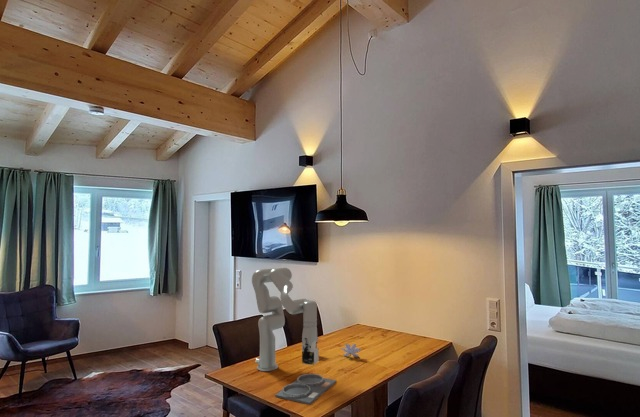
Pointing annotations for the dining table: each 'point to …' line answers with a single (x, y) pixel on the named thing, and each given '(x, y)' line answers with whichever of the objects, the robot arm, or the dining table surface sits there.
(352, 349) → the water lily
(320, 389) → the socket board
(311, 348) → the medicine bottle
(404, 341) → the dining table surface
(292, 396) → the steel rings
